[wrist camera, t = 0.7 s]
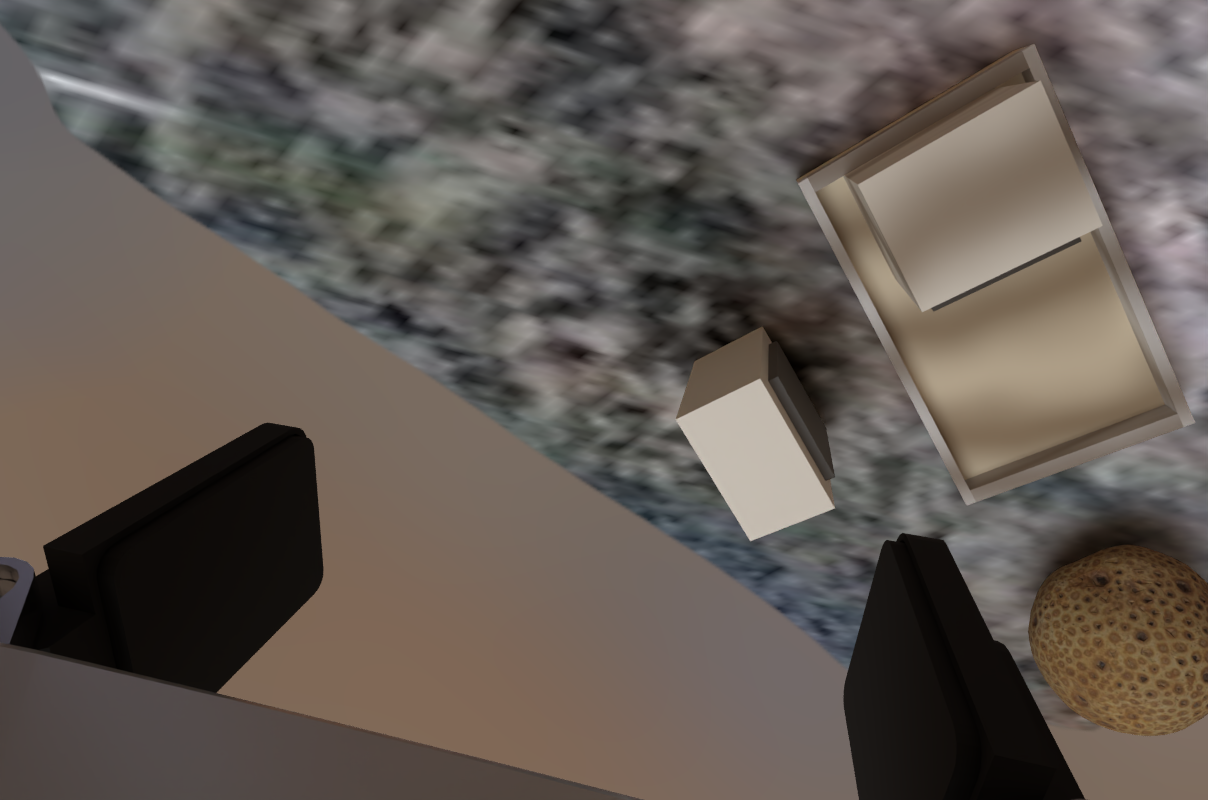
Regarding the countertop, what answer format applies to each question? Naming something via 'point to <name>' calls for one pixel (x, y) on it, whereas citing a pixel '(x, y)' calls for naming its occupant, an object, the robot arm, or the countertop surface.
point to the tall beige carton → (758, 435)
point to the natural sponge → (1125, 640)
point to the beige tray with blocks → (998, 282)
